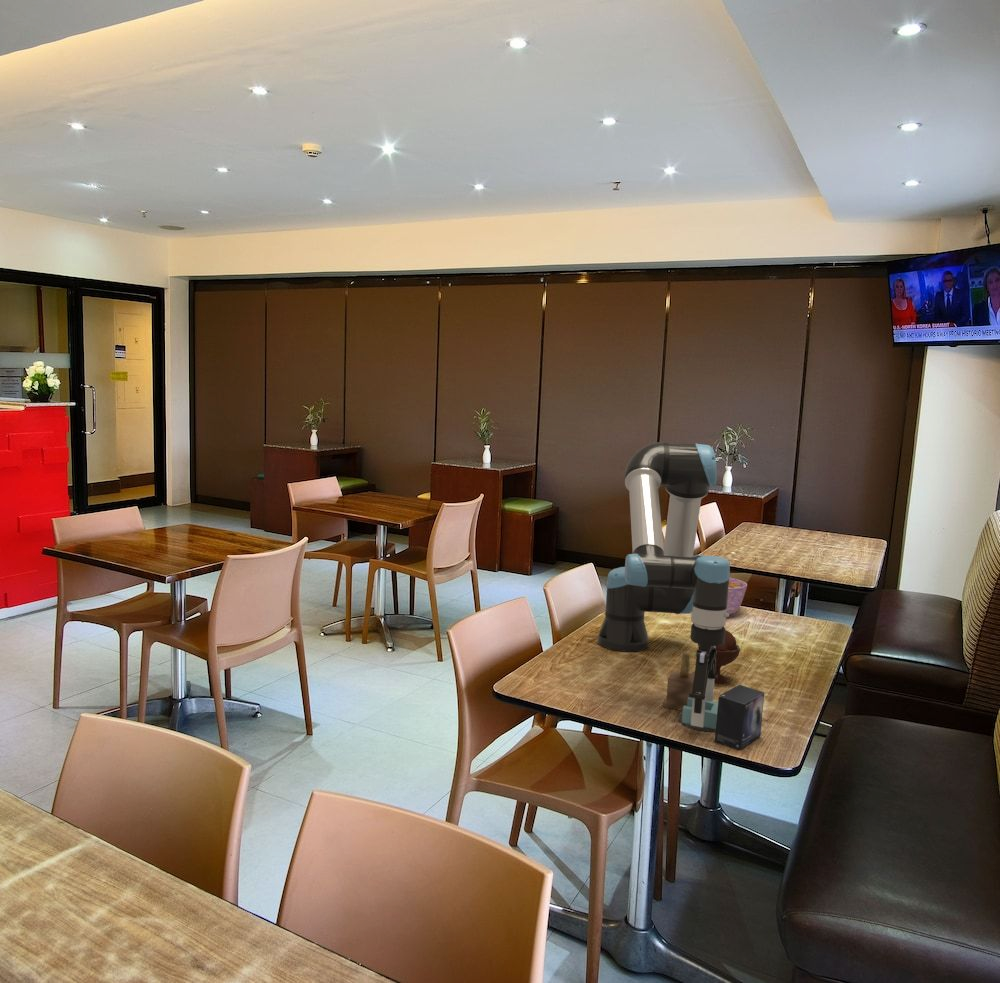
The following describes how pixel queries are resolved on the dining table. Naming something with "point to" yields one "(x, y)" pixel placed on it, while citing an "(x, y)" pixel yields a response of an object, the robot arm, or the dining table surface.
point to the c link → (709, 715)
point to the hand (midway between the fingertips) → (702, 715)
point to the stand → (679, 685)
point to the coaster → (695, 726)
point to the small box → (739, 716)
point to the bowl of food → (735, 594)
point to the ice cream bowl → (725, 655)
